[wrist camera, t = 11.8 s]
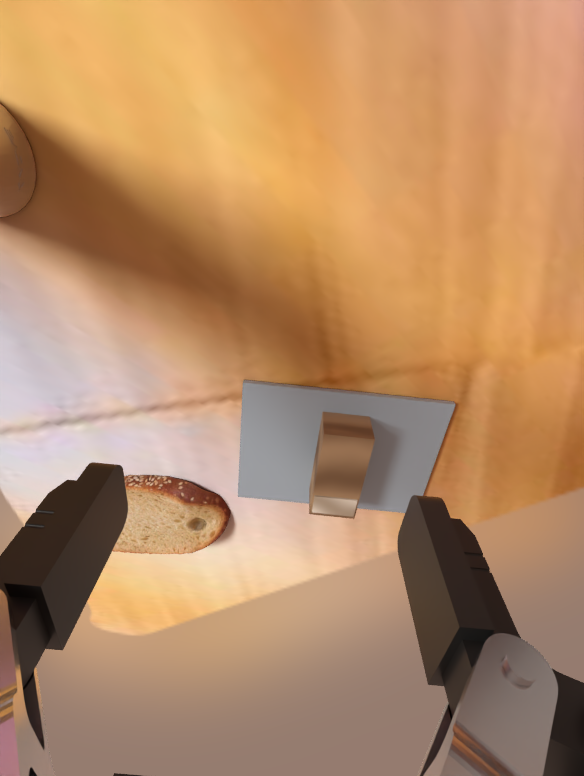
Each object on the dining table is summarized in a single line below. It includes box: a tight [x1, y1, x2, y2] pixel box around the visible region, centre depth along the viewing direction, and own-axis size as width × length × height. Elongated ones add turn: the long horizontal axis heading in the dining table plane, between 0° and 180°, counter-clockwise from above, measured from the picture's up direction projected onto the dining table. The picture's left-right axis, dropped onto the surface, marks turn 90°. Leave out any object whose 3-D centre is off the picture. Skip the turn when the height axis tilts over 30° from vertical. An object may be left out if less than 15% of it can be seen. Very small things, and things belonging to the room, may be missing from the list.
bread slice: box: [112, 475, 230, 554], centre depth 51 cm, size 18×18×4 cm
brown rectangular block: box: [309, 412, 375, 519], centre depth 43 cm, size 11×5×4 cm, turn 174°
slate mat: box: [238, 380, 456, 513], centre depth 45 cm, size 22×16×1 cm
